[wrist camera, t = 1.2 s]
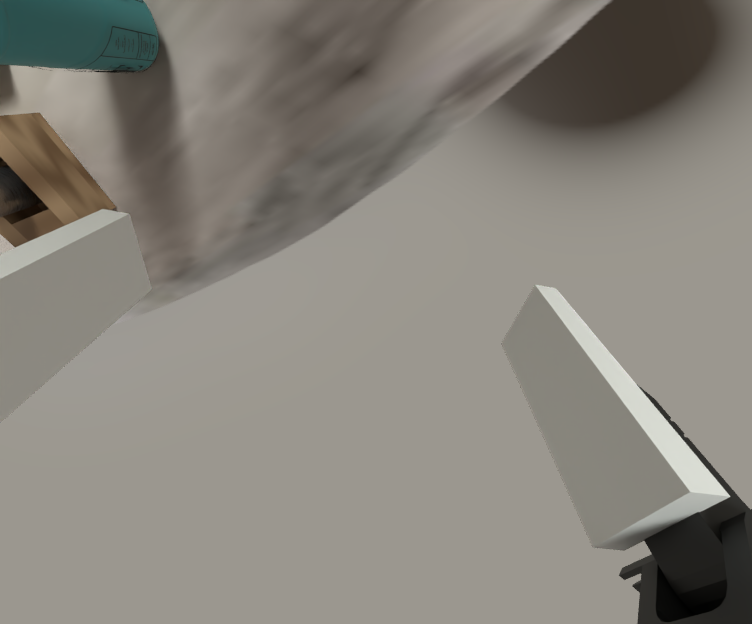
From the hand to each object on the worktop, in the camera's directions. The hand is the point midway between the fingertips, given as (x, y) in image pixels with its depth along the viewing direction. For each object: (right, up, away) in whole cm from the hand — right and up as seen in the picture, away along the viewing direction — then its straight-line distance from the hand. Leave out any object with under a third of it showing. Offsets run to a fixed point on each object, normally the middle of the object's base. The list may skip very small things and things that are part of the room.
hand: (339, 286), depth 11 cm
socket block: (-36, +14, +24) cm, 46 cm away
